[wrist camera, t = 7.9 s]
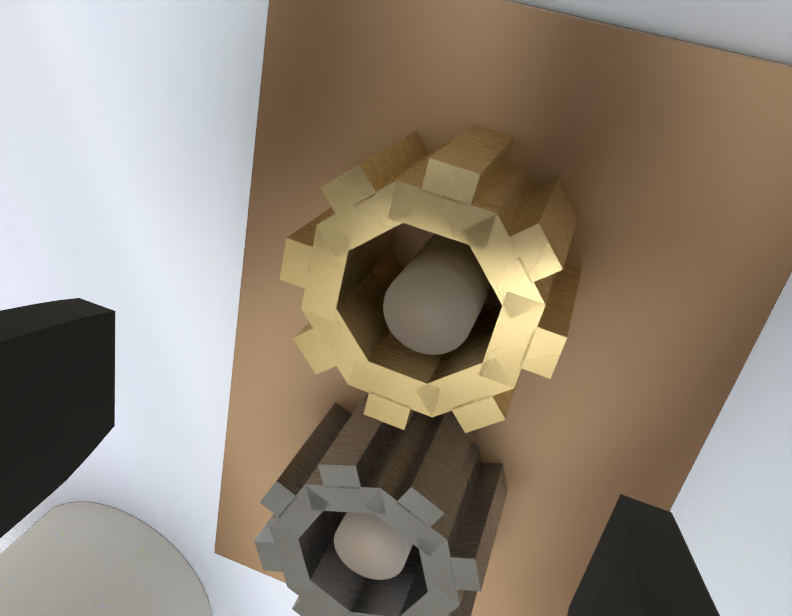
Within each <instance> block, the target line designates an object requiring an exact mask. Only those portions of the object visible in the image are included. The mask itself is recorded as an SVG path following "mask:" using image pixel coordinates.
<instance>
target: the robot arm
mask: <svg viewBox="0 0 792 616" xmlns="http://www.w3.org/2000/svg"><path fill="white" fill-rule="evenodd" d="M114 422H115V311H113V310H111V309H108V308H105V307H102V306H100V305H97V304H94V303H91V302H89V301H86V300H83V299H80V298H76V299H67V300H58V301H51V302H45V303H39V304H33V305H28V306H22V307H17V308H12V309H7V310H2V311H0V538H1V537H2V536H3V535H4V534H6V533H7V532H8V531H9V530H10V529H11V528H13V527H14V526H15V525H16V524H17V523H18V522H20V521H21V520H22V519H23V518H24V517H25V516H26V515H28V514H29V513H30V512H31V511H32V510H33V509H34V508H36V507H37V506H38V505H39V504H40V503H41V502H42V501H44V500H45V499H46V498H47V497H48V496H49V495H50V494H52V493H53V492H54V491H55V490H56V489H57V488H58V487H59V486H60V485H62V484H63V483H64V482H65V481H66V480H67V479H68V478H69V477H70V476H71V475H72V474H73V472H74V471H75V470H76V469H77V468H78V467H79V466H80V465H81V464H82V463H83V462H84V461H85V459H86V458H87V457H88V456H89V455H90V454H91V453H92V452H93V450H94V449H95V448H96V447H97V446H98V445H99V443H100V442H101V441H102V440H103V439H104V438H105V436H106V435H107V434H108V433H109V432H110V430H111V429H112V428H113V427H114ZM567 616H720V615H719V613H718V611H717V609H716V607H715V605H714V603H713V600H712V598H711V596H710V594H709V592H708V590H707V588H706V586H705V583H704V581H703V579H702V577H701V575H700V573H699V570H698V568H697V566H696V564H695V562H694V560H693V557H692V555H691V553H690V551H689V549H688V546H687V544H686V542H685V540H684V538H683V536H682V533H681V531H680V529H679V527H678V525H677V523H676V521H675V519H674V517H673V515H672V513H671V512H669V511H666V510H663V509H661V508H658V507H655V506H652V505H650V504H647V503H644V502H641V501H639V500H636V499H633V498H630V497H628V496H625V495H622V494H620V496H619V498H618V501H617V503H616V505H615V507H614V509H613V512H612V514H611V516H610V518H609V520H608V522H607V525H606V527H605V529H604V531H603V533H602V536H601V538H600V540H599V542H598V544H597V547H596V549H595V551H594V553H593V555H592V557H591V560H590V562H589V564H588V566H587V568H586V571H585V573H584V575H583V577H582V579H581V582H580V584H579V586H578V588H577V590H576V592H575V595H574V597H573V599H572V601H571V603H570V606H569V608H568V614H567Z"/></svg>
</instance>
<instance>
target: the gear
mask: <svg viewBox="0 0 792 616" xmlns="http://www.w3.org/2000/svg"><path fill="white" fill-rule="evenodd" d="M368 395H369V393H367V394H366V395H365V397H364V398H363V400H362V401H361V403H360V404H359V406H358V407H357V409H356V410H355V411H354V412H353V413H352V415H351V414H350V413H348V412H347V411H346V410H345V409H343V408H342V407H341V406H339V405H338V404H337V403H336V402H335V403H334V405H333V406H332V407H331V408H330V410H329V411H328V412H327V413H326V415H325V416H324V417H323V419H322V420H321V421H320V422H319V424H318V425H317V426H316V428H315V429H314V430H313V432H312V433H311V434H310V436H309V437H308V438H307V440H306V441H305V442H304V444H303V445H302V446H301V448H300V449H299V450H298V452H297V453H296V454H295V456H294V457H293V458H292V460H291V461H290V462H289V464H288V465H287V466H286V468H285V469H284V470H283V472H282V473H281V474H280V476H279V477H278V478H277V480H276V481H275V482H274V484H273V485H272V486H271V488H270V489H269V490H268V492H267V493H266V494H265V496H264V497H263V498H262V500H261V501H260V502H259V503H261V504H262V505H263V506H265V507H266V508H267V509H268V510H270V511H271V512H272V513H274V514H273V515H272V517H271V518H270V519H269V521H268V522H267V524H266V525H265V526H264V528H263V529H262V531H261V532H260V534H259V535H258V536H257V538H256V539H255V541H254V542H255V545H256V549H257V552H258V555H259V558H260V561H261V564H262V568H263V570H266V571H276V572H283V574H284V578H285V581H286V584H287V587H288V588H289V589H291V590H292V591H293V592H295V593H296V594H297V595H298V596H299V597H298V599H297V601H296V602H295V604H294V606H293V608H292V609H293V610H294V611H295V612H297V613H298V614H299V615H301V616H471V614H472V610H473V606H474V603H475V599H476V595H477V592H478V591H480V592H481V590H482V586H483V582H484V579H485V575H486V571H487V567H488V564H489V560H490V556H491V552H492V549H493V545H494V541H495V537H496V533H497V530H498V526H499V522H500V518H501V515H502V511H503V507H504V503H505V500H506V496H507V485H506V478H505V472H504V465H503V463H482V457H481V451H480V447H479V446H477V445H476V444H475V443H473V442H472V440H473V437H474V435H475V432H476V430H473V431H470V432H467V433H465V432H464V430H463V428H462V427H461V425H460V423H459V422H458V420H457V418H456V417H455V415H454V413H453V412H452V411H449V412H446V413H443V414H440V415H437V416H435V417H430V416H427V415H425V414H422V413H420V412H417V411H414V413H413V415H412V417H411V419H410V420H409V422H408V424H407V426H406V428H405V430H402V429H400V428H397V427H395V426H392V425H390V424H387V423H385V422H382V421H380V420H377V419H374V418H372V417H369V416H367V415H364V411H365V407H366V403H367V399H368ZM347 512H353V513H370V514H375V515H376V516H378V517H379V518H380V519H382V520H383V521H384V522H385V523H387V524H388V525H389V526H391V527H392V528H393V529H394V530H396V531H397V532H398V533H400V534H401V535H402V536H403V537H405V538H406V539H407V540H409V541H410V542H411V543H412V544H413V546H412V548H411V550H410V553H409V555H408V558H407V560H406V563H405V565H404V567H403V569H402V571H401V572H400V573H399V574H398V575H396V576H395V577H393V578H390V579H385V580H376V579H370V578H367V577H364V576H361V575H359V574H357V573H356V572H354V571H353V570H351V569H350V568H349V567H347V566H346V565H345V564H344V563H343V561H342V560H341V559H340V557H339V556H338V554H337V552H336V549H335V545H334V536H335V532H336V531H337V529H338V527H339V525H340V523H341V522H342V520H343V518H344V516H345V515H346V513H347Z"/></svg>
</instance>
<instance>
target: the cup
mask: <svg viewBox="0 0 792 616" xmlns="http://www.w3.org/2000/svg"><path fill="white" fill-rule="evenodd" d="M0 616H212V614H211V608H210V604H209V601H208V598H207V595H206V592H205V590H204V588H203V586H202V584H201V582H200V580H199V578H198V576H197V575H196V573H195V572H194V570H193V569H192V567H191V566H190V565H189V563H188V562H187V561H186V559H185V558H184V557H183V556H182V555H181V554H180V552H179V551H178V550H177V549H176V548H175V547H174V546H173V545H172V544H171V543H170V542H169V541H167V540H166V539H165V538H164V537H163V536H162V535H160V534H159V533H158V532H157V531H155V530H154V529H153V528H151V527H150V526H148V525H147V524H145V523H144V522H142V521H140V520H139V519H137V518H135V517H133V516H131V515H129V514H127V513H125V512H123V511H121V510H118V509H115V508H113V507H109V506H106V505H102V504H98V503H92V502H71V503H66V504H62V505H60V506H57V507H55V508H53V509H52V510H50V511H49V512H48V513H47V514H46V515H44V516H43V517H42V518H41V519H40V520H39V521H38V522H36V523H35V524H34V525H33V526H32V527H31V528H29V529H28V530H27V531H26V532H25V533H24V534H23V535H21V536H20V537H19V538H18V539H17V540H16V541H15V542H13V543H12V544H11V545H10V546H9V547H8V548H7V549H5V550H4V551H3V552H2V553H1V554H0Z"/></svg>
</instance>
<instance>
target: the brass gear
mask: <svg viewBox="0 0 792 616" xmlns="http://www.w3.org/2000/svg"><path fill="white" fill-rule="evenodd" d="M512 140H513V137H512V136H509V135H506V134H503V133H499V132H496V131H493V130H490V129H486V128H483V127H480V126H477V125H472V126H470V127H469V128H468V129H466V130H465V131H464V132H463V133H461V134H460V135H459V136H457V137H456V138H455V139H453V140H452V141H451V142H450V143H448V144H447V143H445V144H443V145H442V146H440V147H438V148H436V149H434V150H433V151H431V152H429V153H428V152H427V150H426V148H425V146H424V144H423V142H422V141H421V139H420V137H419V135H418V133H417V131H415V132H413V133H411V134H409V135H408V136H406V137H404V138H403V139H401V140H399V141H397V142H396V143H394V144H392V145H391V146H389V147H387V148H386V149H384V150H382V151H380V152H379V153H377V154H375V155H374V156H372V157H370V158H369V159H367V160H365V161H364V162H362V163H360V164H359V165H357V166H356V167H354V168H352V169H351V170H349V171H347V172H346V173H344V174H342V175H341V176H339V177H337V178H336V179H334V180H332V181H331V182H329V183H327V184H326V185H324V186H322V187H321V189H322V191H323V193H324V195H325V196H326V198H327V200H328V201H329V203H330V205H331V206H332V207H331V208H329V209H328V210H326V211H325V212H323V213H322V214H320V215H319V216H318V217H316V218H315V219H313V220H312V221H310V222H309V223H307V224H306V225H304V226H303V227H301V228H300V229H299V230H297V231H296V232H294V233H293V234H291V235H290V236H288V237H287V238H286V243H285V249H284V255H283V261H282V267H281V273H280V280H283V281H285V282H288V283H291V284H293V285H296V286H299V287H302V288H304V289H305V291H304V296H303V301H302V307H301V310H302V311H303V313H304V314H305V316H306V318H307V319H308V321H309V322H308V323H307V324H306V325H305V326H304V327H303V328H302V329H301V330H300V331H299V332H298V333H297V334H296V335H295V336H294V337H293V339H294V341H295V343H296V344H297V346H298V347H299V349H300V350H301V352H302V354H303V355H304V357H305V358H306V360H307V362H308V363H309V365H310V366H311V368H312V369H313V371H314V373H315V374H319V373H321V372H323V371H326V370H328V369H330V368H333V367H335V366H337V367H338V369H339V371H340V372H341V374H342V376H343V377H344V379H345V380H346V382H347V384H348V385H350V386H353V387H355V388H358V389H361V390H363V391H366V392H368V393H369V395H368V399H367V403H366V407H365V411H364V415H367V416H369V417H372V418H374V419H377V420H380V421H382V422H385V423H387V424H390V425H392V426H395V427H397V428H400V429H402V430H405V428H406V426H407V424H408V422H409V420H410V419H411V417H412V415H413V413H414V411H417V412H420V413H422V414H425V415H427V416H430V417H435V416H437V415H440V414H443V413H446V412H449V411H452V412H453V413H454V415H455V417H456V418H457V420H458V422H459V423H460V425H461V427H462V428H463V430H464V432H465V433H467V432H470V431H473V430H476V429H479V428H482V427H485V426H488V425H491V424H494V423H497V422H500V421H503V420H506V417H507V414H508V411H509V407H510V404H511V401H512V398H513V395H514V392H515V388H516V385H517V382H518V379H519V376H520V373H521V369H525V370H527V371H530V372H533V373H535V374H538V375H541V376H544V377H546V378H549V379H551V376H552V374H553V371H554V369H555V367H556V364H557V362H558V359H559V357H560V354H561V352H562V349H563V347H564V344H565V342H566V339H567V336H568V332H569V327H570V322H571V317H572V313H573V308H574V303H575V299H576V294H577V289H578V284H579V280H580V275H581V270H582V269H580V268H577V267H574V266H571V265H568V264H565V260H566V257H567V253H568V250H569V246H570V242H571V239H572V235H573V232H574V228H575V225H576V221H577V217H578V214H579V213H578V211H577V209H576V207H575V205H574V203H573V201H572V199H571V197H570V195H569V193H568V191H567V189H566V187H565V185H564V183H563V181H562V179H561V177H560V176H558V177H556V178H554V179H552V180H550V181H548V182H546V183H544V184H542V185H540V186H538V187H536V186H535V184H534V182H533V180H532V178H531V176H530V174H529V172H528V171H527V169H526V168H524V167H521V166H517V165H514V164H511V163H508V162H506V159H507V156H508V153H509V150H510V146H511V143H512ZM401 223H406V224H409V225H411V226H414V227H417V228H420V229H423V230H426V231H429V232H432V233H435V234H438V235H441V236H444V237H447V238H450V239H453V240H456V241H459V242H461V243H464V244H467V245H469V246H470V247H471V249H472V251H473V253H474V255H475V256H476V258H477V260H478V262H479V264H480V266H481V267H482V269H483V271H484V273H485V275H486V276H487V278H488V280H489V282H490V284H491V286H492V287H493V289H494V291H495V293H496V295H497V296H498V299H496V300H494V301H491V302H489V303H487V304H484V305H483V307H482V309H481V311H480V313H479V315H478V317H477V319H476V321H475V323H474V325H473V327H472V329H471V331H470V333H469V335H468V337H467V338H466V340H465V341H464V342H463V343H462V344H461V345H460V346H459V347H457V348H456V349H454V350H452V351H450V352H447V353H444V354H438V355H429V354H423V353H419V352H416V351H414V350H411V349H410V348H408V347H406V346H405V345H403V344H402V343H401V342H400V341H398V340H397V338H396V337H395V336H394V335H393V334H392V332H391V331H390V329H389V327H388V326H387V323H386V321H385V317H384V311H383V303H384V297H385V294H386V292H387V289H388V288H389V286H390V285H391V284H392V282H393V281H394V280H395V279H396V278H397V277H398V275H399V274H400V273H401V272H402V271H403V268H402V267H401V265H400V263H399V261H398V260H397V258H396V256H395V254H394V253H393V251H392V249H393V245H394V241H395V237H396V233H397V229H398V225H400V224H401Z"/></svg>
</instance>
